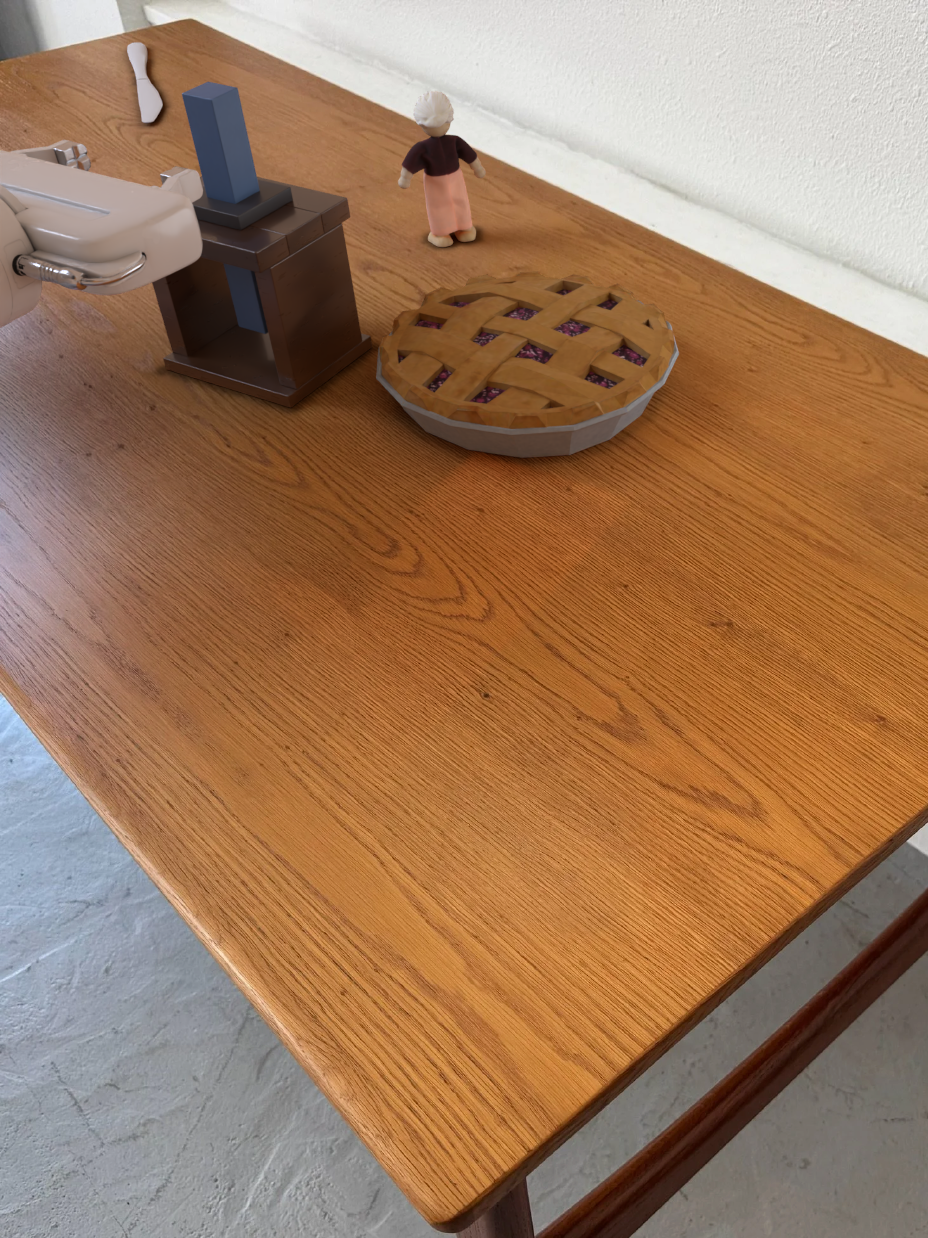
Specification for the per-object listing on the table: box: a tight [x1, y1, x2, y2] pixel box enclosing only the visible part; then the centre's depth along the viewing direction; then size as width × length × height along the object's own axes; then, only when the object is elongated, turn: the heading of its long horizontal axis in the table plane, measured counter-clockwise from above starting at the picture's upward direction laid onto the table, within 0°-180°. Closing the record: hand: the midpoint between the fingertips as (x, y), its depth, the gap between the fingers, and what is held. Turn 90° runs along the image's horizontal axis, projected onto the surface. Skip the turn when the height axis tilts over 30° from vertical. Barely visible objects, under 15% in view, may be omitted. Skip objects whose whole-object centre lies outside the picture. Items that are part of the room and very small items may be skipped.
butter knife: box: [126, 41, 163, 124], centre depth 140 cm, size 1×27×3 cm
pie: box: [375, 271, 680, 459], centre depth 91 cm, size 22×22×5 cm
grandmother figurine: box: [397, 90, 487, 248], centre depth 107 cm, size 8×4×13 cm, turn 126°
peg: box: [181, 81, 293, 334], centre depth 88 cm, size 6×6×17 cm
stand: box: [151, 175, 373, 409], centre depth 92 cm, size 10×12×12 cm
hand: (135, 166), depth 79 cm, fingers open, 8 cm apart
